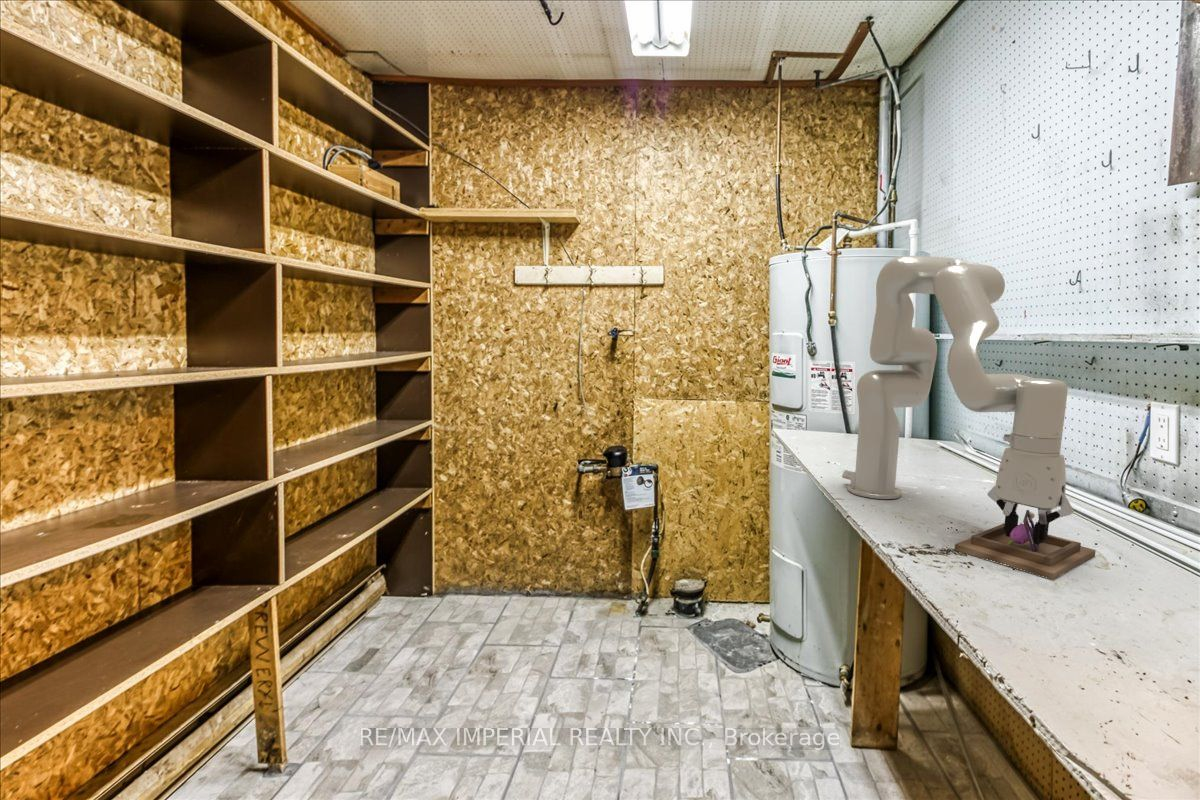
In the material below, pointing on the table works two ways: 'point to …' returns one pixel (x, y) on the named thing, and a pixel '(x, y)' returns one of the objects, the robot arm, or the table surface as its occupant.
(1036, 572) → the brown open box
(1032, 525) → the purple figure with panel
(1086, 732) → the table surface
